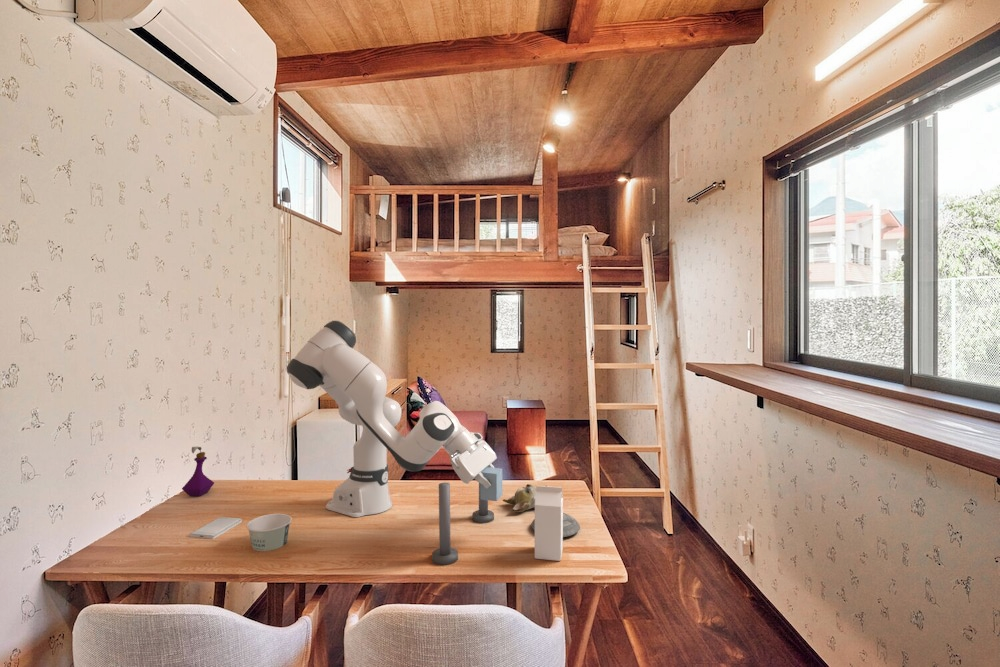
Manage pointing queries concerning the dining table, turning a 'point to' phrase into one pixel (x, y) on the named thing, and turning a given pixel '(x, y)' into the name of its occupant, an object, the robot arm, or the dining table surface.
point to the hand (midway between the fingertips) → (493, 482)
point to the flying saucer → (566, 525)
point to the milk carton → (548, 523)
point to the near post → (444, 529)
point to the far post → (483, 512)
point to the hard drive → (216, 527)
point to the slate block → (496, 488)
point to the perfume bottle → (198, 477)
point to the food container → (269, 531)
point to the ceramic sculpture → (523, 499)
